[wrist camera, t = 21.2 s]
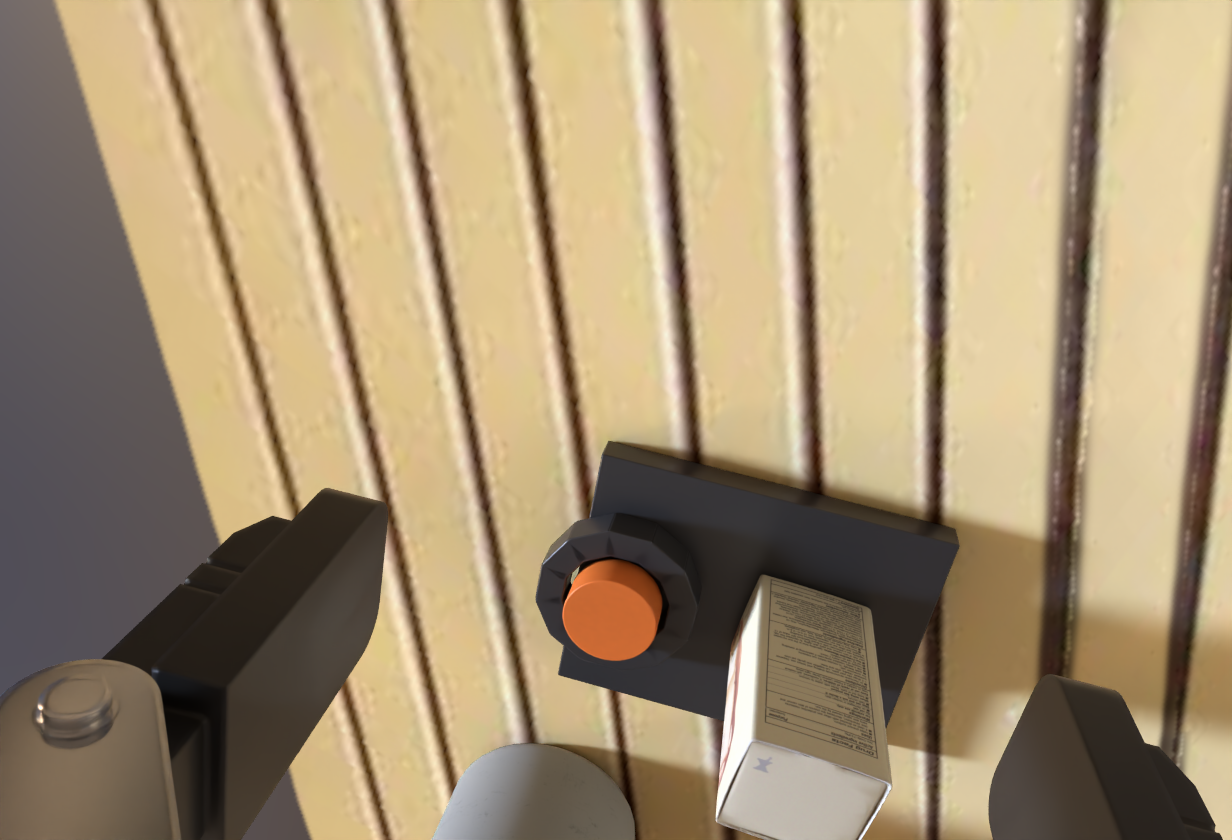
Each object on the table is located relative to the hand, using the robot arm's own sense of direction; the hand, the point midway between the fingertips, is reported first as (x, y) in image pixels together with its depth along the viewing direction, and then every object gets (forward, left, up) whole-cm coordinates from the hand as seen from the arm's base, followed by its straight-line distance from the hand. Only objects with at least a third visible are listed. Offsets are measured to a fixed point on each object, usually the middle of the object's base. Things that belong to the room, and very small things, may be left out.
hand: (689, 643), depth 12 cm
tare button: (-2, -17, -25) cm, 30 cm away
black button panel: (+3, -17, -27) cm, 32 cm away
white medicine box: (+6, -17, -26) cm, 32 cm away
